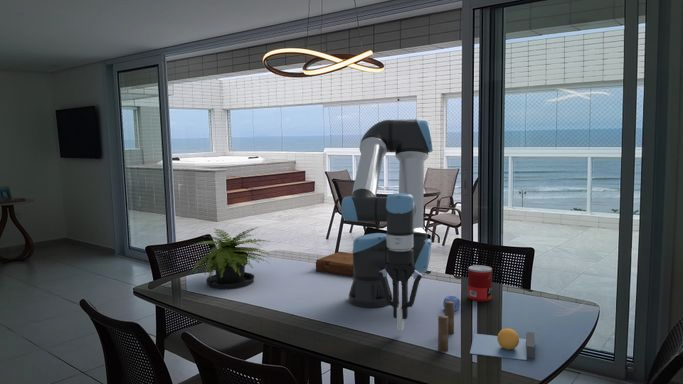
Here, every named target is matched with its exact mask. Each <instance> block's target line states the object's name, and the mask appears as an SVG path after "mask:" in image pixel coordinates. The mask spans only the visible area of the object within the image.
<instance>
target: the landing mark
mask: <svg viewBox="0 0 683 384" xmlns="http://www.w3.org/2000/svg"><path fill="white" fill-rule="evenodd" d="M497 337H498V335H491V334H482V333H481V334H480V333H473V338H472V342H471V347H470V351H469V355H477V356H484V357H485V356H486V357H493V358H501V359H502V358H503V359H512V360H520V361H527V360H528V359H527V358H528V357H527V354H526V338H521V337H519V343H518V345H517V347H516V348H514V349H512V350H506V349H504V348H502V347H501V346H500V345H499V343H498V340H497Z"/></svg>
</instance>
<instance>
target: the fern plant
mask: <svg viewBox="0 0 683 384" xmlns="http://www.w3.org/2000/svg"><path fill="white" fill-rule="evenodd" d="M255 229H258V227H255V228H250V229H246V231H241V232H240V233H239V234H238V235H235V236H234V237H231V236H230V233H229V232H228V231H225V230H222V229H220V228H214V229H213V230H214V234H217V236H216V237H214V236H205V235H204V238H205V237H208V238H211V239H213V240H206V241H205V240H203V241H200V242H197V243H192V244H190V245H189V247H192V246H196V245H198V246H199V245H206V246H207V245H209V244H210V245H211V244H212V245H215V246H214V247H212V248H209V249H206V250H205V248H204V250H201V251H195V252H193V253H192V254H191V255H194V256H193V257H191V259H193V258H196V257H197V258H199V257H201V258H200V260H197V261H196V262H194V263H193V264H191V265H190V266H189V269H191V268H192V267H193V266H194V267H193V268H192V271H191V272H190V273H189V275H190V274H192V273H193V271H194V270H195V272H194V273H193V275H195V274H196V273H197V272H198V270H199V268H200V269H202V268H203V267H205V269H204V275H206V274H207V272H208V277H207V278H206V286H207V287H209V288H210V289H215V290H235V289H241V288H246V287H248V286H251V285H252V284H254V282H255V275H254V274H252V273H250V272H246V271H245V269H246V266H249V267H250V268H251V269H252V270H253V269H254V265H252V263H251V262H250V260H253V261H255V262H257V263H258V264H260V261H262V262H266V263H267V264H270V262H268V261H267V260H265V259H264V258H267V259H268V260H269V259H270V260H271V257H270V258H269V257H268V256H272V254H270V253H268V251H266V250H264V249H260V248H259V247H246V246H245V247H244V246H241V245H245V244H250V243H251V244H255V245H257V246H260V244H259V243H258V242H266V243H267V242H268V243H271V241H270V240H266V239H259V238H254V239H252V238H251V237H253V236H254V234H249V232H252V231H254V230H255ZM246 238H248V239H246ZM245 239H246V240H245ZM205 253H207V254H206V255H204V254H205ZM258 253H259V254H258ZM202 254H203V255H202ZM262 254H265V255H267V256H265V255H262ZM188 256H190V254H188V255H186V256H184V258H186V257H188ZM261 257H263V258H261ZM214 272H215V273H214Z"/></svg>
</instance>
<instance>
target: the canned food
mask: <svg viewBox="0 0 683 384" xmlns="http://www.w3.org/2000/svg"><path fill="white" fill-rule="evenodd" d="M467 273H468V274H467V288H468V289H467V296H468V299H469V300H471V301H473V302H479V303H480V302H481V303H483V302H486V303H487V302H490V301H491V300H492V297H493V295H492V293H493V292H492V291H493V268H492V267H491V266H487V265H480V264H474V265H470V266H468V271H467Z"/></svg>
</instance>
